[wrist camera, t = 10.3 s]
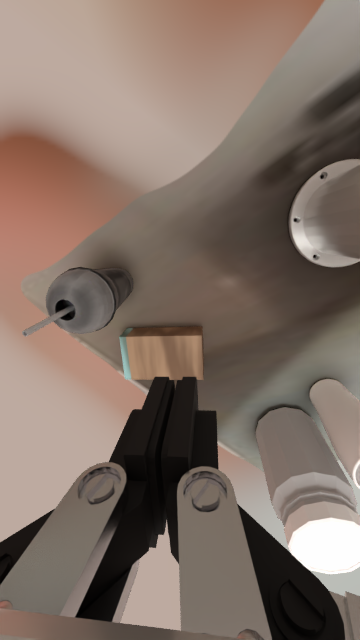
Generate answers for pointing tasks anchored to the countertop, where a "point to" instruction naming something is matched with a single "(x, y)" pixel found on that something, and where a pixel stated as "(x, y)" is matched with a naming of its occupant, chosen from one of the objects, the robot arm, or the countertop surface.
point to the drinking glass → (340, 422)
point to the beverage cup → (85, 299)
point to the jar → (309, 492)
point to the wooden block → (162, 352)
